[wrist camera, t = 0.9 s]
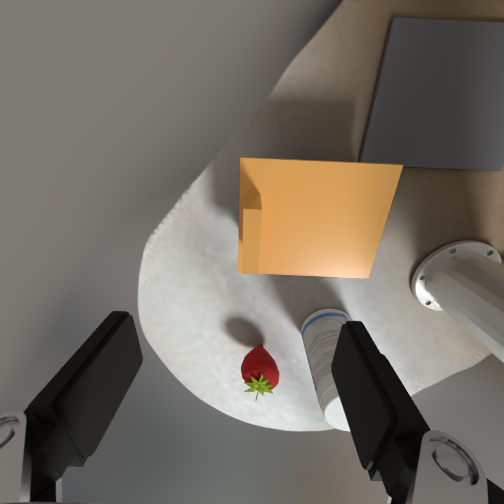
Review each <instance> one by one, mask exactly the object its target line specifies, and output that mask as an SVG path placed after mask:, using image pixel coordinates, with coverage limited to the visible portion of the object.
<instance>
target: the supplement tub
mask: <svg viewBox="0 0 504 504" xmlns="http://www.w3.org/2000/svg"><path fill="white" fill-rule="evenodd" d="M346 321H353V320H352V318H351V317H350V316H349V315H348V314H347V313H345V312H343V311H341V310H337V309H322V310H319V311H316V312H314V313H313V314H311V315H310V316H308V317H307V318H306V320H305V321H304V323H303V325H302V328H301V335H302V339H303V343H304V347H305V351H306V355H307V359H308V363H309V367H310V371H311V375H312V379H313V382H314V386H315V390H316V394H317V398H318V401H319V404H320V408H321V410H322V412H323V416H324V418H325V420H326V421H327V423H328V424H329V425H331V426H333V427H334V428H337V429H340V430H345V431H350V428H349V425H348V422H347V419H346V416H345V413H344V410H343V407H342V404H341V401H340V398H339V395H338V391H337V388H336V385H335V382H334V379H333V376H332V373H331V364H332V360H333V356H334V352H335V349H336V345H337V341H338V337H339V333H340V330H341V326H342V324H345V323H346Z"/></svg>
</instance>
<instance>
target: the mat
mask: <svg viewBox="0 0 504 504" xmlns="http://www.w3.org/2000/svg"><path fill="white" fill-rule="evenodd" d="M359 162H365V163H387V164H398V165H403V167H424V168H446V169H468V170H490V171H500V170H501V168H502V166H503V164H504V22H485V21H463V20H441V19H419V18H397V17H394V18H393V19H392V20H391V23H390V28H389V32H388V37H387V41H386V45H385V50H384V54H383V58H382V63H381V67H380V72H379V76H378V80H377V85H376V89H375V93H374V98H373V102H372V107H371V111H370V115H369V120H368V124H367V128H366V133H365V137H364V142H363V146H362V150H361V155H360V159H359Z"/></svg>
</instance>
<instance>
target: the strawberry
mask: <svg viewBox="0 0 504 504" xmlns="http://www.w3.org/2000/svg"><path fill="white" fill-rule="evenodd" d="M241 373H242V377H243V379H244V381H245V382H244V383H245V384H247V385H248V386H250V387H251V389H248V390H246V391H245V392H254V391H255V390H258V392H260V393H261V394H262V395H264V392H269V393H273V392H272V391H271V390H272V389H273V388H274V387H276V386H277V384H278V382H279V371H278V368H277V365H276V363H275V361H274V359H273V358H272V357H271V356H270V354H269V353H268V352H267V351H266V350H265V349H264V348H263V347H262V346H257V347H256V348H254V349H252V350H251V351H250V352H249V353H248V354H247V355H246V356H245V358H244V360H243V363H242V365H241ZM257 396H258V393H257ZM256 400H257V397H256Z"/></svg>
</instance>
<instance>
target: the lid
mask: <svg viewBox="0 0 504 504" xmlns="http://www.w3.org/2000/svg"><path fill="white" fill-rule="evenodd" d="M402 168H403V165H398V164H387V163H365V162H343V161H321V160H299V159H277V158H255V157H240V183H239V244H238V273H242V274H279V275H302V276H324V277H346V278H369V275H370V272H371V268H372V265H373V262H374V259H375V255H376V252H377V249H378V246H379V243H380V239H381V236H382V233H383V230H384V226H385V223H386V220H387V217H388V214H389V210H390V207H391V204H392V201H393V197H394V194H395V191H396V188H397V184H398V181H399V178H400V175H401V172H402Z"/></svg>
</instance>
